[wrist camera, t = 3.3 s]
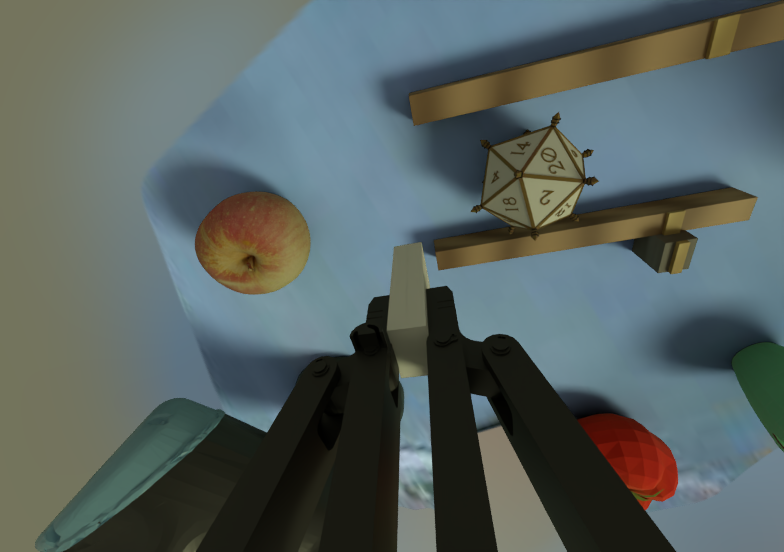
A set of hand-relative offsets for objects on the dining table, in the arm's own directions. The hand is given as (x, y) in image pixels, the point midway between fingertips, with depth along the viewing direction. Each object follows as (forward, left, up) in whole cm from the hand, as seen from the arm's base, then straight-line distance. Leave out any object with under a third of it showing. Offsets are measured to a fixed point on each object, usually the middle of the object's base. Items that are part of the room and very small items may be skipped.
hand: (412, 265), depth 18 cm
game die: (+9, 0, -14) cm, 17 cm away
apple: (-14, -1, -14) cm, 19 cm away
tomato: (+19, -41, -14) cm, 48 cm away
